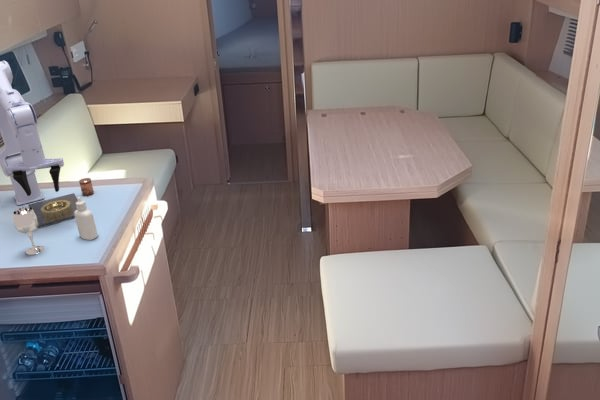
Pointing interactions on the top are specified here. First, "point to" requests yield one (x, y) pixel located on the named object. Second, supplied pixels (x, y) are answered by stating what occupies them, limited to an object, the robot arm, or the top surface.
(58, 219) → the collar plate
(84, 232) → the eye dropper bottle
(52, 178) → the robot arm
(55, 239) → the top surface
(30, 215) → the wineglass
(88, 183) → the round knob
